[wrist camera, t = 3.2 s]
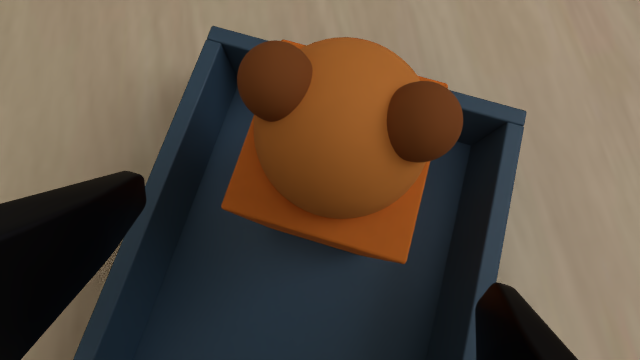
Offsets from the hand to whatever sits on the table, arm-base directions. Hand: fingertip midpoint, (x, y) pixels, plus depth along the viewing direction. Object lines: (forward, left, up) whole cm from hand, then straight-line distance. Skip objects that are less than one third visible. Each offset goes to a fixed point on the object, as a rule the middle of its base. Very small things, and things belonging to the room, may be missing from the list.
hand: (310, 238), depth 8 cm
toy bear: (+2, +2, -9) cm, 10 cm away
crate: (-1, -1, -10) cm, 10 cm away
